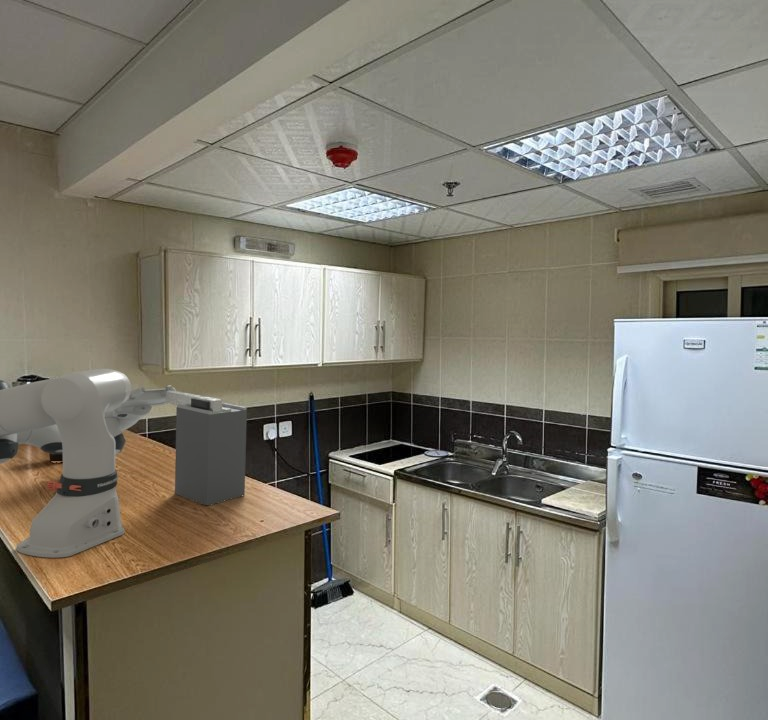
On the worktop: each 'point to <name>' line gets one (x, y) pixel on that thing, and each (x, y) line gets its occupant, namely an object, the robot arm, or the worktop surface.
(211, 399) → the brushed metal post
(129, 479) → the worktop surface
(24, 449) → the worktop surface
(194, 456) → the tall grey pillar
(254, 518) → the worktop surface
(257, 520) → the worktop surface
